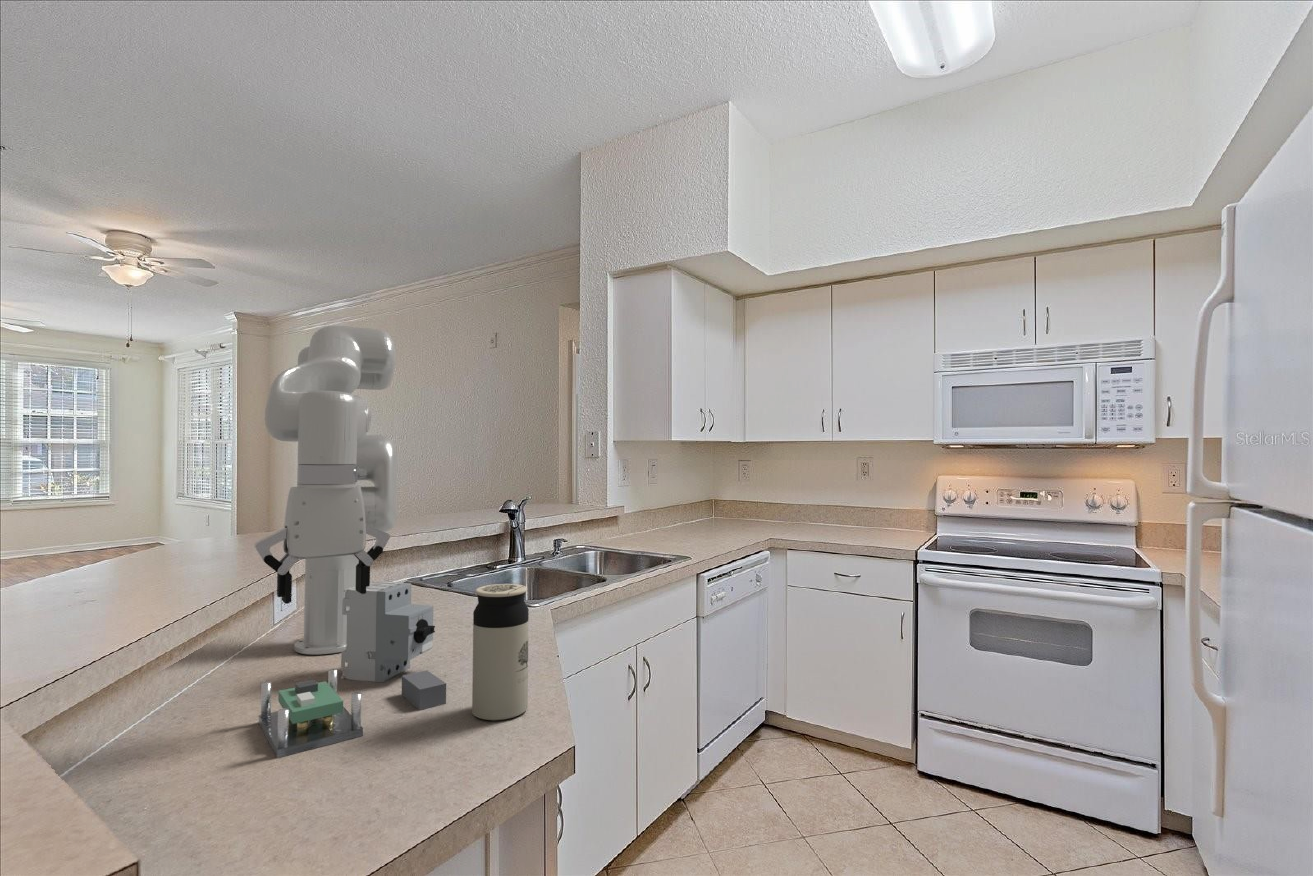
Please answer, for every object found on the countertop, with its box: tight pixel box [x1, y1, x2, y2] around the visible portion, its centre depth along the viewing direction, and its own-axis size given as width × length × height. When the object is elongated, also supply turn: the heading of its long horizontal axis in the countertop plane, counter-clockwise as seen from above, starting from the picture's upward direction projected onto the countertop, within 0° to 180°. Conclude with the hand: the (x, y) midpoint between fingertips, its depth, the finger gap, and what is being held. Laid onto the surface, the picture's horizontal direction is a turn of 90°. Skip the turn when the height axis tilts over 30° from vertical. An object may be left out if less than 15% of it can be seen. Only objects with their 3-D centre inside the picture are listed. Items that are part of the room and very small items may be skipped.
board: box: [278, 679, 344, 724], centre depth 87 cm, size 10×6×2 cm, turn 40°
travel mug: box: [471, 583, 530, 722], centre depth 94 cm, size 8×8×18 cm
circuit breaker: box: [340, 581, 436, 683], centre depth 110 cm, size 8×14×15 cm, turn 78°
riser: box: [401, 670, 447, 711], centre depth 98 cm, size 8×4×3 cm, turn 40°
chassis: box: [258, 668, 364, 759], centre depth 87 cm, size 14×10×6 cm
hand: (324, 596), depth 91 cm, fingers open, 9 cm apart
